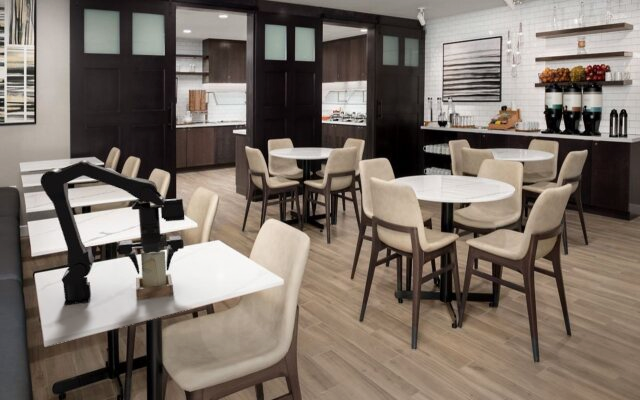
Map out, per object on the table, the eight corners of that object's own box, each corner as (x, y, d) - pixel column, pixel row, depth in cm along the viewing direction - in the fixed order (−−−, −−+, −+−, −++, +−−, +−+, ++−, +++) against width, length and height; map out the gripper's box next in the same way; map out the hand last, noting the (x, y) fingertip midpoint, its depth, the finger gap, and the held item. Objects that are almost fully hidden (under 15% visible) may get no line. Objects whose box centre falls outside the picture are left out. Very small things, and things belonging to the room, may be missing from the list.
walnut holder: (136, 300, 157) (135, 289, 156) (136, 287, 166) (135, 277, 166) (173, 295, 160) (172, 285, 159) (171, 283, 170) (170, 273, 169)
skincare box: (142, 289, 163) (139, 251, 160) (153, 284, 167) (150, 248, 164) (157, 293, 160) (154, 255, 157) (168, 288, 164) (165, 251, 161)
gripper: (115, 231, 148) (120, 284, 151) (183, 226, 154) (186, 276, 158) (116, 222, 159) (121, 272, 162) (180, 217, 165) (183, 265, 168)
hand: (153, 271), depth 162 cm, fingers open, 8 cm apart
